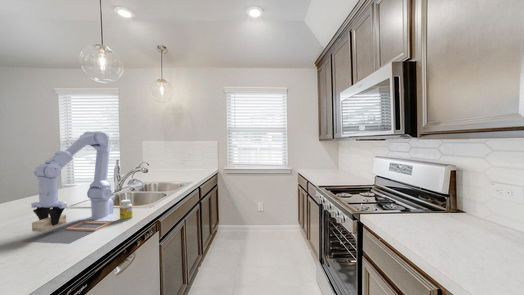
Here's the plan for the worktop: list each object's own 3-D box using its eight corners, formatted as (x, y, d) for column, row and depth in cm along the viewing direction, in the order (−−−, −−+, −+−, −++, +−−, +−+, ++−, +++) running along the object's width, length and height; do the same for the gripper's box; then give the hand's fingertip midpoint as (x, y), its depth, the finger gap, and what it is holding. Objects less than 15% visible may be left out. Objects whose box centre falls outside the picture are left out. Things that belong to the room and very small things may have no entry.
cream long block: (57, 222, 102) (57, 214, 101) (66, 222, 101) (65, 214, 101) (32, 231, 92) (31, 222, 92) (41, 231, 91) (41, 223, 91)
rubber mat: (79, 221, 113) (79, 220, 113) (116, 222, 110) (116, 221, 110) (23, 242, 89) (23, 241, 89) (69, 244, 86) (69, 243, 86)
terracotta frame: (83, 223, 108) (83, 221, 108) (110, 224, 107) (110, 222, 107) (65, 230, 100) (65, 228, 100) (95, 231, 98) (95, 229, 98)
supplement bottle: (134, 218, 115) (134, 199, 115) (124, 222, 110) (123, 202, 110) (128, 217, 118) (128, 198, 117) (117, 220, 113) (117, 201, 113)
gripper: (22, 194, 93) (24, 227, 93) (54, 195, 91) (55, 228, 92) (41, 190, 100) (42, 221, 100) (70, 191, 98) (72, 222, 99)
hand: (50, 224), depth 96 cm, fingers closed on cream long block, 4 cm apart
